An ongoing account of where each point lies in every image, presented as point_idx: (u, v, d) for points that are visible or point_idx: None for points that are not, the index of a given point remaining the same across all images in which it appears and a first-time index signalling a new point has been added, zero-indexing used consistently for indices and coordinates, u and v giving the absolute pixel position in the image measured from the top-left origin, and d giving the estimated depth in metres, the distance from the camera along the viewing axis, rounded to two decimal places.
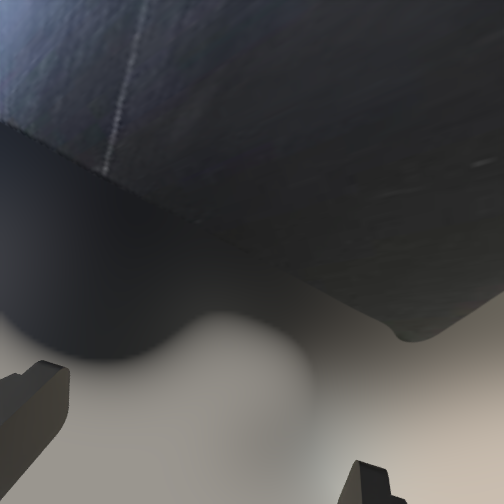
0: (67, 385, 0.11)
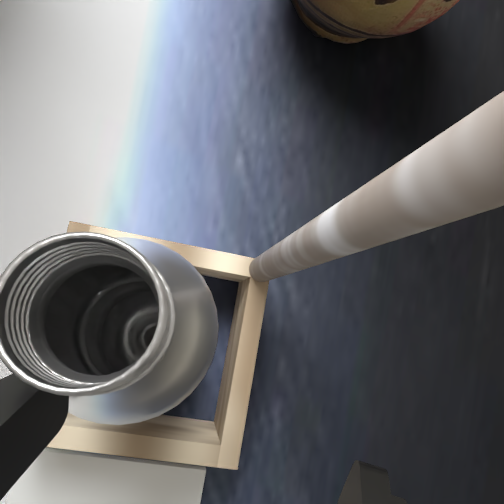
0: None
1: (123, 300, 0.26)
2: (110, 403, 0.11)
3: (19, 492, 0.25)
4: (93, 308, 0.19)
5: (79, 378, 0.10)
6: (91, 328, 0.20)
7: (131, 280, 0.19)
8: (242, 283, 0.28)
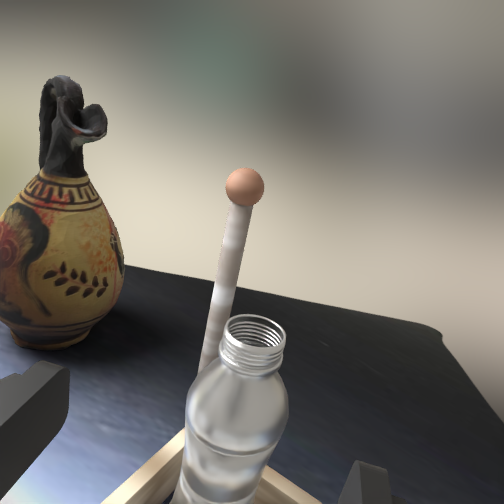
0: (67, 385, 0.11)
1: None
2: (280, 390, 0.24)
3: None
4: None
5: None
6: None
7: None
8: None
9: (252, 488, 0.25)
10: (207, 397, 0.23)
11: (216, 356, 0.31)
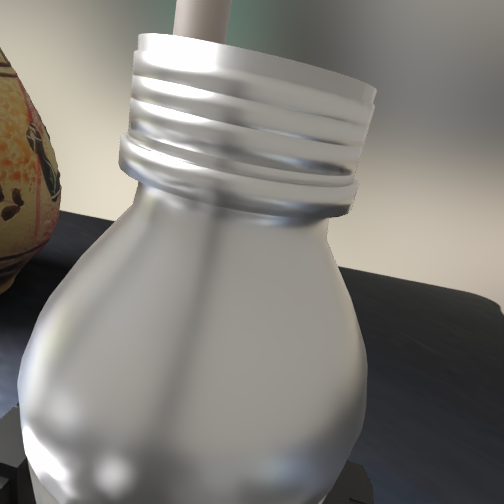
0: None
1: None
2: (348, 300, 0.07)
3: None
4: None
5: None
6: None
7: None
8: None
9: None
10: (77, 325, 0.06)
11: None
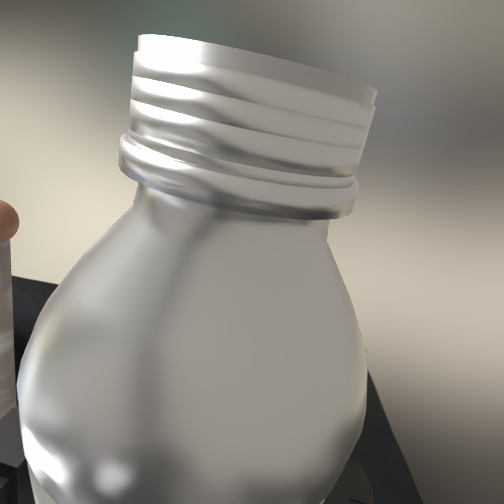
0: None
1: None
2: (348, 302, 0.07)
3: None
4: None
5: None
6: None
7: None
8: None
9: None
10: (76, 326, 0.06)
11: (3, 407, 0.28)
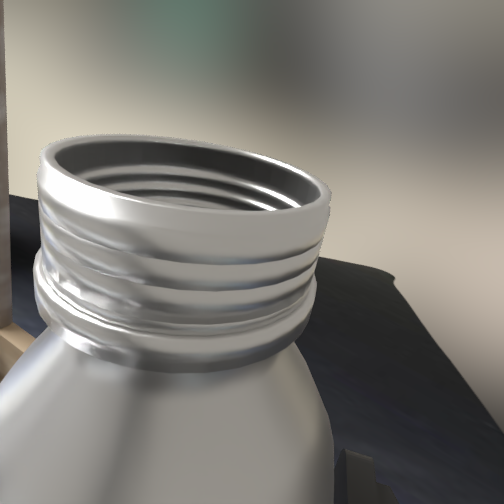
0: None
1: None
2: (310, 408, 0.06)
3: None
4: None
5: None
6: None
7: None
8: None
9: None
10: None
11: None
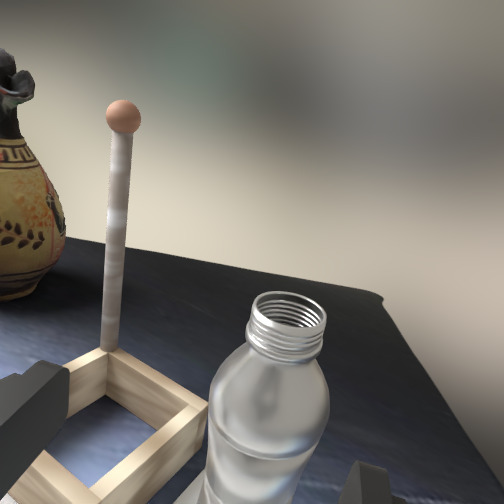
0: (67, 385, 0.11)
1: None
2: (321, 378, 0.20)
3: None
4: (219, 496, 0.21)
5: None
6: None
7: None
8: (108, 379, 0.39)
9: (291, 494, 0.21)
10: (237, 392, 0.19)
11: (115, 277, 0.35)
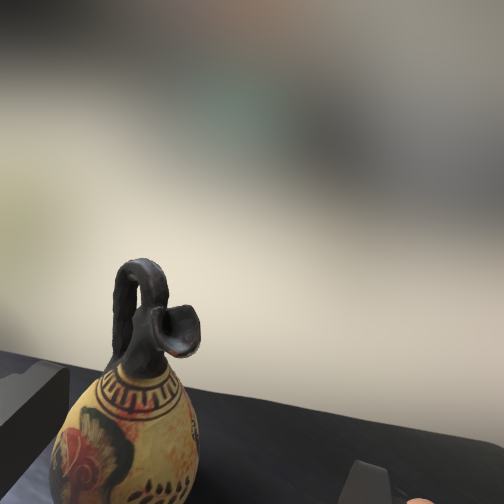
0: (67, 385, 0.11)
1: None
2: None
3: None
4: None
5: None
6: None
7: None
8: None
9: None
10: None
11: None
